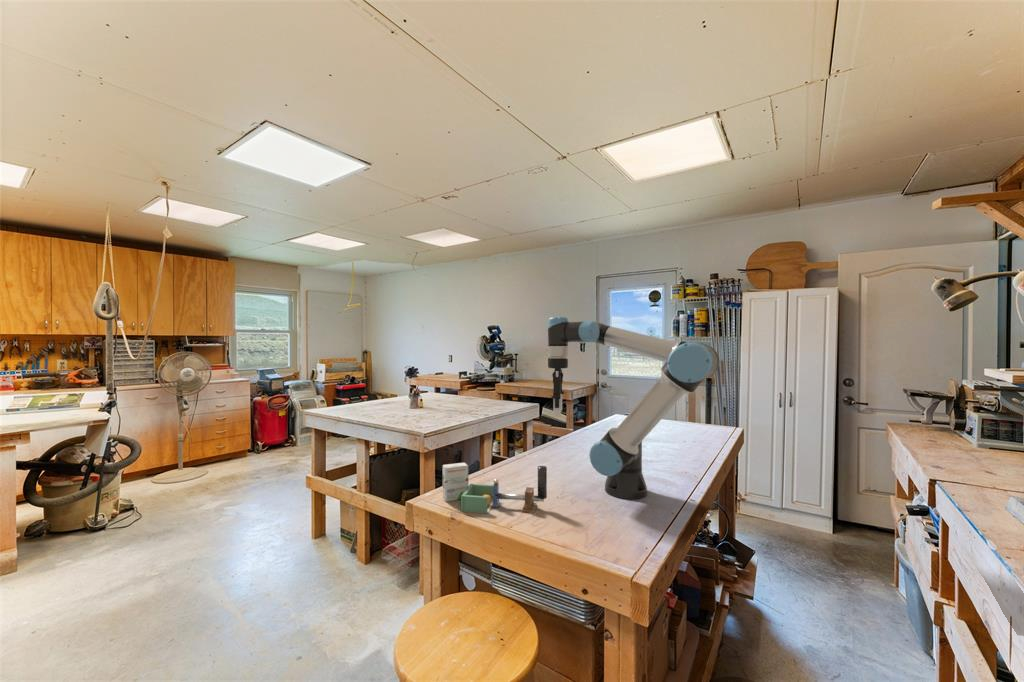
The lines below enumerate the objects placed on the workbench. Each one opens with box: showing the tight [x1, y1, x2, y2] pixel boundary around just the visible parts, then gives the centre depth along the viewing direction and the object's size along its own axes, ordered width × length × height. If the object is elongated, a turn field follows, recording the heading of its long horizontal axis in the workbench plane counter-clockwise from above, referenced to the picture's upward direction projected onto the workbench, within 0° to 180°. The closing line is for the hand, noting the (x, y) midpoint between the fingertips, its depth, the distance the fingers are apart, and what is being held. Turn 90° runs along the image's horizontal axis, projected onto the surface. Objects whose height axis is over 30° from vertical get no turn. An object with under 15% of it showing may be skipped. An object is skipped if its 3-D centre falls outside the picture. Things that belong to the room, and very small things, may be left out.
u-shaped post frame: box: [492, 465, 548, 508], centre depth 132 cm, size 18×3×14 cm, turn 81°
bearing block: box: [521, 486, 537, 514], centre depth 131 cm, size 4×7×6 cm, turn 171°
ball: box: [484, 495, 492, 507], centre depth 133 cm, size 4×4×4 cm
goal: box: [460, 483, 494, 514], centre depth 134 cm, size 9×12×5 cm
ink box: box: [442, 462, 469, 503], centre depth 140 cm, size 9×5×12 cm, turn 112°
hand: (558, 413), depth 149 cm, fingers open, 13 cm apart
